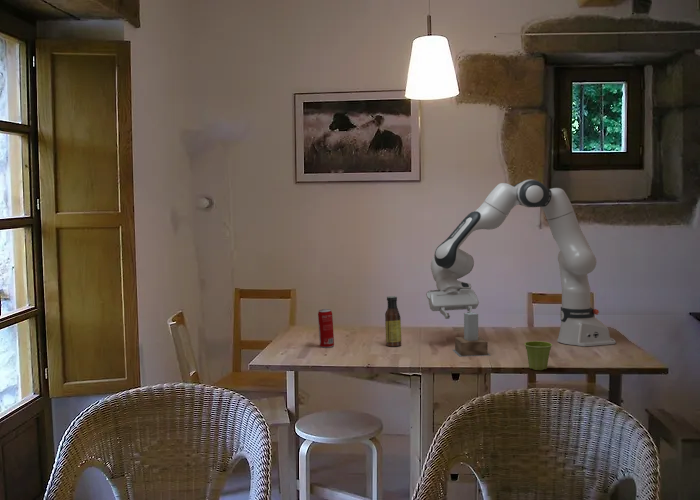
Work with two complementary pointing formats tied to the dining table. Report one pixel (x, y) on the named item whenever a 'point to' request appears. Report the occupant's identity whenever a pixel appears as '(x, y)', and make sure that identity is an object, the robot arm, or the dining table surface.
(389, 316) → the sauce bottle
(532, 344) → the plant pot
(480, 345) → the walnut base block
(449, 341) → the dining table surface
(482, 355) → the grey mat
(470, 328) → the pillar block
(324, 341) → the beverage can
